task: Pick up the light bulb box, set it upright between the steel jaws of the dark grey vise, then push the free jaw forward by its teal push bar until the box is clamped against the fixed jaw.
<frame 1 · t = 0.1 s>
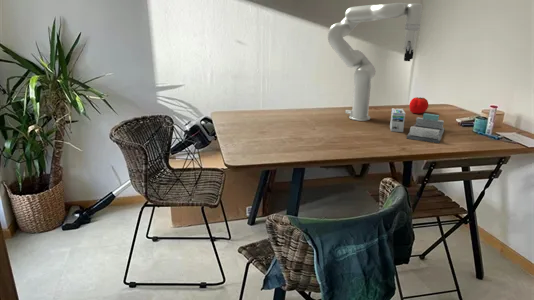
hand: (408, 59, 235), 37 cm above the table, tool pointing down, fingers open, 9 cm apart
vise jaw: (430, 120, 237), point 5 cm above the table, slide at 0.0 cm
tomato: (417, 113, 272), on the table
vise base: (425, 134, 228), on the table
light bulb box: (396, 129, 237), on the table
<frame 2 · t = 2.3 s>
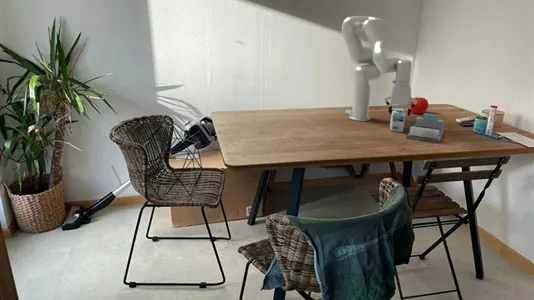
hand: (399, 114, 233), 8 cm above the table, tool pointing down, fingers open, 9 cm apart
light bulb box: (396, 129, 237), on the table, touching gripper
everything else where it was.
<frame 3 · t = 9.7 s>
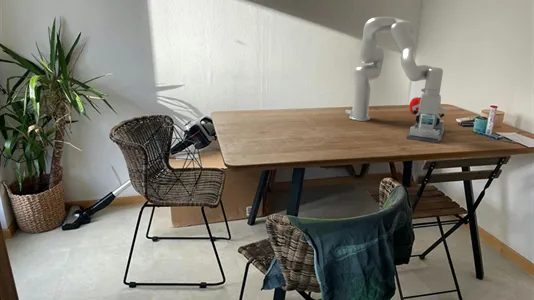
hand: (427, 124, 225), 6 cm above the table, tool pointing down, fingers open, 9 cm apart
light bulb box: (424, 132, 227), point 1 cm above the table, touching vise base
everything else where it was.
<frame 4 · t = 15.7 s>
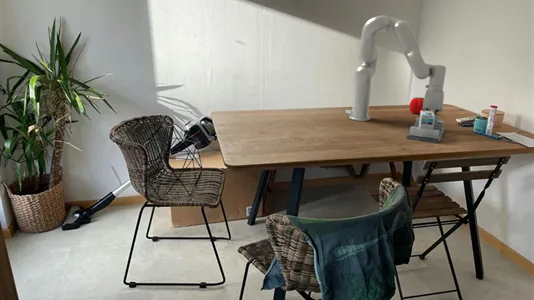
hand: (430, 120, 240), 4 cm above the table, tool pointing down, fingers closed
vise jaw: (429, 121, 236), point 5 cm above the table, slide at 1.3 cm, touching gripper
everything else where it was.
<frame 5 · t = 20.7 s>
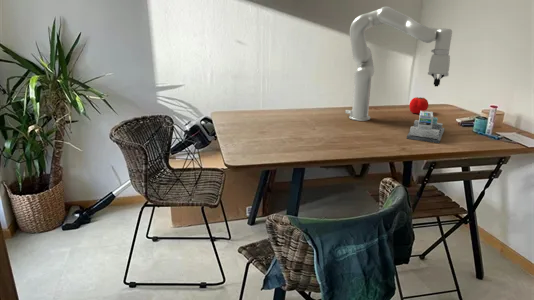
hand: (436, 86, 236), 23 cm above the table, tool pointing down, fingers closed
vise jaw: (428, 123, 231), point 5 cm above the table, slide at 6.6 cm
light bulb box: (423, 133, 226), point 1 cm above the table, touching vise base
everything else where it was.
at the end: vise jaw slide at 6.6 cm; light bulb box 0.9 cm from the target spot on the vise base, point 1.3 cm above the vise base's base; light bulb box tilted 0° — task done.
